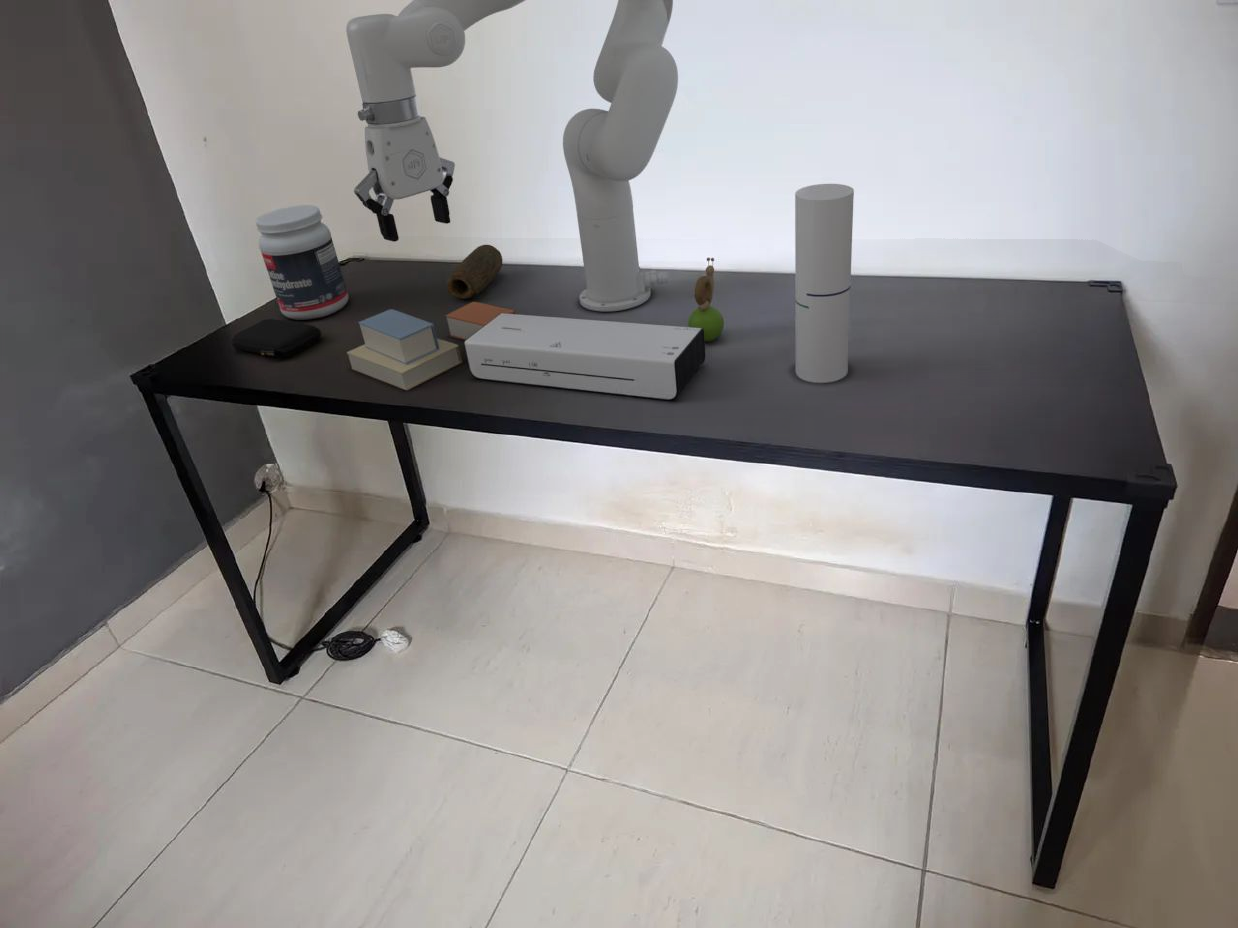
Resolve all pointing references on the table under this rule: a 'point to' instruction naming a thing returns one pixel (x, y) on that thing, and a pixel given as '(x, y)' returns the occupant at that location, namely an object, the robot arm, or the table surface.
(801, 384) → the table surface
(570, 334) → the laminator
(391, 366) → the cream hardcover
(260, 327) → the carrying case
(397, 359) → the grey blue book
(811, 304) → the cylindrical container
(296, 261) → the supplement tub
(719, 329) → the snail figurine
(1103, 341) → the table surface
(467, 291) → the brown vase
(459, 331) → the terracotta book
